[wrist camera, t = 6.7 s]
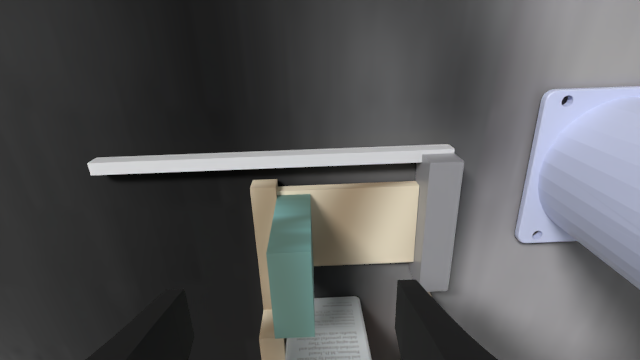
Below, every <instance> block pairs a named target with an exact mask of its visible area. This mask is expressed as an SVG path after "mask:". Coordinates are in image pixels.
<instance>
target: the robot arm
mask: <svg viewBox="0 0 640 360" xmlns="http://www.w3.org/2000/svg"><path fill="white" fill-rule="evenodd" d="M565 96H567V97H568V100H567V102H566V103H565V104H564V105H562V99H563V98H564V97H565ZM536 231H538V232H537V234H535V235H533V233H534V232H536ZM532 235H533V236H532ZM515 236H516V238H517V239H518V240H519V241H520V242H522V243H542V242H566V241H578V242H579V243H581V244H582V245H583V246H584V247H586V248H587V249H588V250H589V251H591V252H592V253H593V254H595V255H596V256H597V257H598V258H600V259H601V260H602V261H604V262H605V263H606V264H607V265H609V266H610V267H611V268H612V269H614V270H615V271H616V272H618V273H619V274H620V275H621V276H623V277H624V278H625V279H626V280H628V281H629V282H630V283H632V284H633V285H634V286H635V287H637V288H638V289H639V290H640V86H628V87H600V88H573V89H553V90H549V91H548V92H546V93H545V94H544V95H543V97H542V100H541V104H540V109H539V114H538V119H537V124H536V129H535V134H534V139H533V144H532V149H531V154H530V159H529V164H528V169H527V174H526V179H525V184H524V190H523V195H522V200H521V205H520V210H519V215H518V220H517V225H516V230H515ZM395 330H396V335H397V340H398V345H399V349H400V354H401V358H402V360H498V359H496V358H495V357H494V356H492V355H491V354H490V353H489V352H488V351H486V350H485V349H484V348H483V347H482V346H481V345H479V344H478V343H477V342H476V341H475V340H474V339H473V338H472V337H471V336H470V335H468V334H467V333H466V332H465V331H464V330H463V329H462V328H461V327H460V326H459V325H458V324H457V323H456V322H455V321H454V320H453V319H452V318H451V317H450V316H449V315H448V314H447V313H446V312H445V311H444V310H443V309H442V308H441V307H440V305H439V304H438V303H437V302H436V301H435V300H434V299H433V298H432V297H431V296H430V294H429V293H428V292H427V291H426V290H425V289H424V288H423V287H422V285H421V284H420V283H419V282H418V281H417V280H398V284H397V301H396V318H395ZM193 338H194V332H193V328H192V323H191V318H190V314H189V309H188V304H187V300H186V295H185V291H184V289H170V290H165V291H164V292H163V293H162V294H160V295H159V296H158V297H157V298H156V299H155V300H154V301H153V302H152V303H151V304H149V305H148V306H147V307H146V308H145V309H144V310H143V311H142V312H141V313H140V314H139V315H137V316H136V317H135V318H134V319H133V320H132V321H131V322H130V323H129V324H127V325H126V326H125V327H124V328H123V329H122V330H121V331H120V332H118V333H117V334H116V335H115V336H114V337H113V338H111V339H110V340H109V341H108V342H107V343H105V344H104V345H103V346H102V347H101V348H99V349H98V350H97V351H96V352H94V353H93V354H92V355H91V356H90V357H88V358H87V359H86V360H188V358H189V355H190V351H191V347H192V343H193Z"/></svg>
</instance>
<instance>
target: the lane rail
mask: <svg viewBox="0 0 640 360" xmlns="http://www.w3.org/2000/svg"><path fill="white" fill-rule="evenodd" d="M454 150H455V149H454V148H453V147H452V146H450V145H449V144H438V145H412V146H386V147H360V148H334V149H308V150H282V151H256V152H231V153H205V154H179V155H153V156H127V157H101V158H95V159H94V160H92V161H90V162H89V163H87V164H88V168H89V171H90V175H114V174H140V173H165V172H190V171H216V170H241V169H267V168H292V167H317V166H343V165H368V164H394V163H417V164H416V178H415V181H416V182H417V183H418V184H419V197H418V210H417V223H416V235H415V248H414V261H413V262H409V270H410V272H411V275H412V277H413V280H417V281H418V282H419V283H420V284H421V285H422V287H423V288H424V289H425V290H426V291H427V292H433V291H448V287H449V279H450V271H451V263H452V255H453V247H454V239H455V231H456V223H457V215H458V207H459V199H460V191H461V184H462V176H463V168H464V161H463V160H462V159H461V158H459V157H458V156H457V155H456V154H455V153H454Z"/></svg>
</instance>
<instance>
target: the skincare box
mask: <svg viewBox="0 0 640 360" xmlns="http://www.w3.org/2000/svg"><path fill="white" fill-rule="evenodd" d="M314 313H315V337H302V338H286V353H285V360H372V359H371V353H370V348H369V344H368V338H367V333H366V328H365V324H364V319H363V314H362V309H361V304H360V299H359V298H358V297H356V296H348V297H328V298H314Z"/></svg>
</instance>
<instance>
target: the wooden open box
mask: <svg viewBox="0 0 640 360" xmlns="http://www.w3.org/2000/svg"><path fill="white" fill-rule="evenodd" d="M250 193H251V202H252V211H253V220H254V228H255V237H256V246H257V255H258V264H259V272H260V281H261V290H262V299H263V308H264V311H263V318H262V324H261V330H260V336H259V342H260V350H261V358H262V360H285V353H286V338H302V337H315V313H314V266H331V265H354V264H377V263H400V262H413V261H414V248H415V235H416V223H417V210H418V197H419V184H418V183H417V182H416V181H404V182H379V183H354V184H329V185H305V186H280V187H278V181H277V179H268V180H253V181H252V184H251V187H250ZM428 293H429V294H430V292H428ZM430 296H431V294H430ZM431 297H432V296H431Z"/></svg>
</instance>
